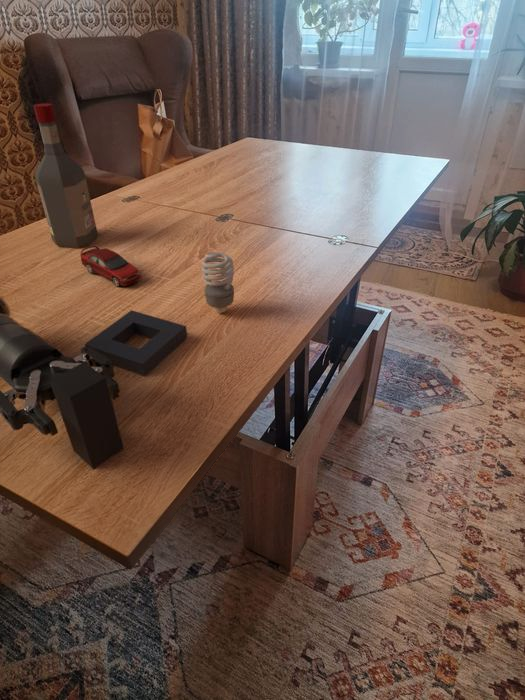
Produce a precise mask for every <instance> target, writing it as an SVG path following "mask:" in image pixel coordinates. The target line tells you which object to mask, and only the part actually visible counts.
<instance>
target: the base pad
mask: <svg viewBox="0 0 525 700" xmlns="http://www.w3.org/2000/svg"><path fill="white" fill-rule="evenodd" d="M136 335H138V336H142V337H145V338H147V339H149V340H148V341H147V342H146V343H144V344H143V345H142V346H141V347H140V348H138V347H136V346H133V345H129V344H127V342H128V341H129V340H131V339H132V338H133V337H135V336H136ZM187 339H188V331H187V325H184V324H180V323H177V322H173V321H170V320H167V319H164V318H159V317H157V316H152V315H150V314H146V313H142V312H139V311H136V310H132V309H131V310H130V311H128V312H127V313H125V314H124V315H122V316H121V317H120V318H118V319H117V320H116V321H114V322H113V323H112V324H110V325H109V326H107V327H106V328H105V329H104V330H101V331H100V332H99V333H98V334H97V335H95V336H94V337H92V338H91V339H89V340H88V341H87V342H85V343H84V347H90V348H92V349H93V350H95V351H97V352H98V353H100V354H102V355H104V356H105V357H107V358H109V359H110V360H111V361H112V366H114V367H117V368H119V369H123V370H126V371H128V372H131V373H134V374H137V375H140V376H143V377H146V376H147V375H148V374H149V373H151V372H152V371H153V370H154V369H155V368H156V367H157V366H158V365H159V364H161V363H162V362H163V361H164V360H165V359H166V358H168V356H169V355H170V354H172V353H173V352H174V351H175V350H176V349H178V347H179V346H180V345H181V344H182V343H184V342H185V341H186V340H187Z"/></svg>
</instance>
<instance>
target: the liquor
mask: <svg viewBox="0 0 525 700" xmlns="http://www.w3.org/2000/svg"><path fill="white" fill-rule="evenodd" d="M33 110H34V115H35V118H36V122H37V123H38V127H39V130H40V135H41V138H42V144H43V148H44V149H43V152H44V155H43V157H42V158H41V161H39V164H38V166H37V168H36V169H35V171H34V179H35V183H36V186H37V189H38V193H39V197H40V201H41V205H42V207H43V213H44V214H45V218H46V222H47V226H48V229H49V233H50V236H51V237H50V238H51V240H52V242H53V243H54V244H55V245H56V246H57V247H58V248H65V249H66V248H67V249H68V248H69V249H79V248H80V249H81V248H86V247H89V245H91V244H92V243H93V242H94V241H95V240H96V239H97V237H98V234H99V233H98V229H97V224H96V220H95V215H94V211H93V206H92V200H91V197H90V192H89V188H88V187H89V186H88V184H87V183H88V182H87V179H86V174H85V171H84V169H83V167H82V166H81V165H80V164H79V163H78V162H76V161H75V160H74V159H73V158H72V157H71V156H70V155H68V154H67V153H66V152H65V149H64V148H63V146H62V142H61V138H60V135H59V131H58V127H57V123H56V121H57V119H56V115H55V112H54V107H53V104H52V103H46V102H45V103H37V104H33Z"/></svg>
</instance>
